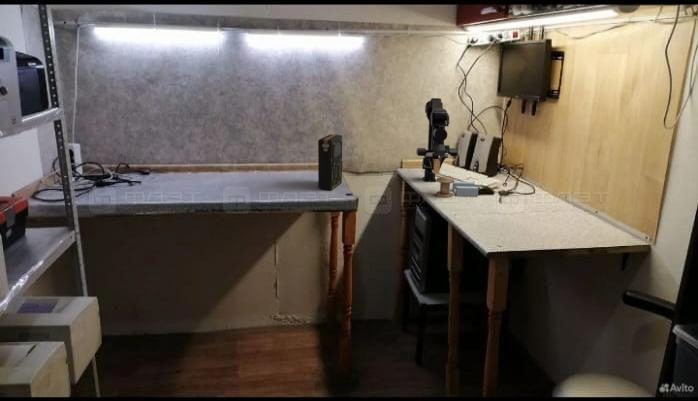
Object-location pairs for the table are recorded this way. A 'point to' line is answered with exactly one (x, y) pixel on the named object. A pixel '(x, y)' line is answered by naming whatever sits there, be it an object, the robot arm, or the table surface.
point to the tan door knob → (444, 187)
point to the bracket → (465, 189)
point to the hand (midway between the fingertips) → (435, 169)
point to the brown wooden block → (436, 166)
